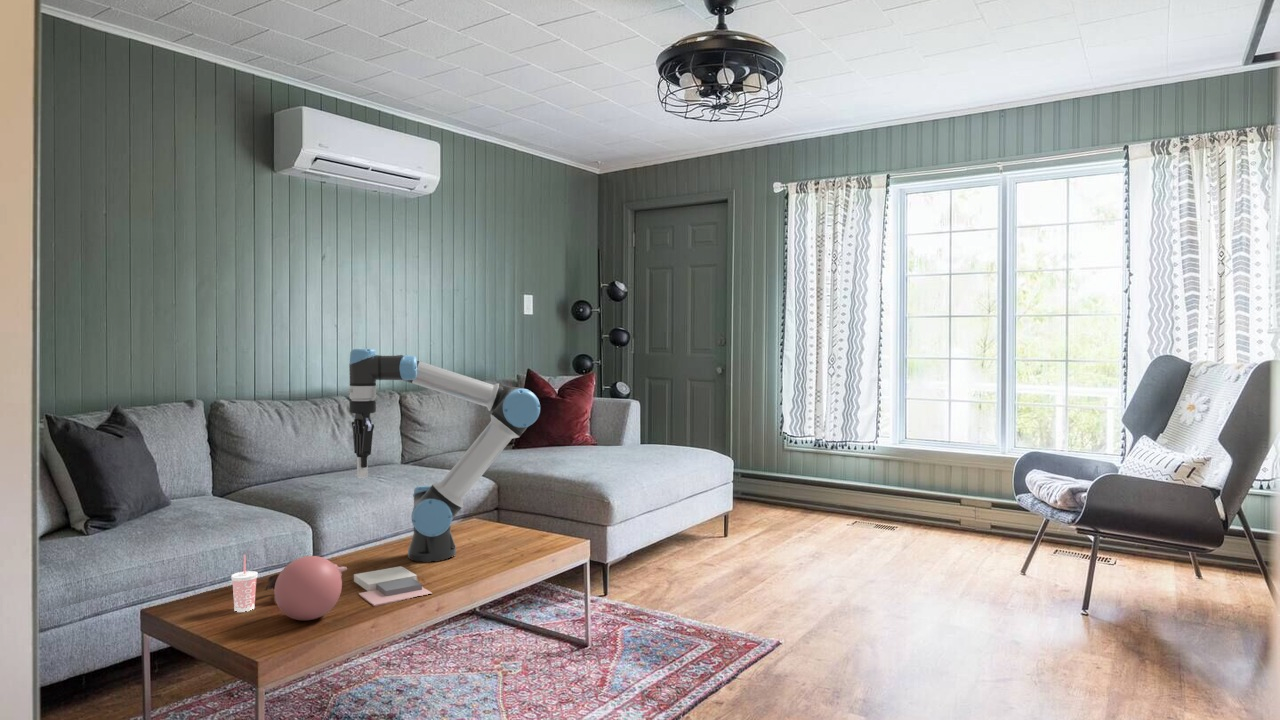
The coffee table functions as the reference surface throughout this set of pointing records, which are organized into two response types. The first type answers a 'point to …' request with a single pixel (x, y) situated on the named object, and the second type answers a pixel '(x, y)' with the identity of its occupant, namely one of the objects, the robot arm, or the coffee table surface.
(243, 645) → the coffee table surface
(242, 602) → the beverage cup
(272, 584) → the pottery mug
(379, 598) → the felt mat
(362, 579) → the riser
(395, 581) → the coaster
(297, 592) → the balloon
